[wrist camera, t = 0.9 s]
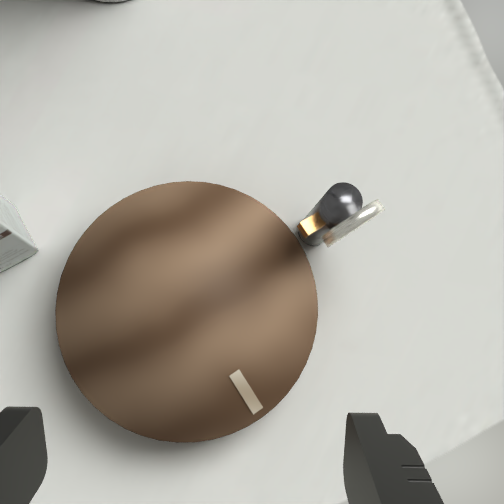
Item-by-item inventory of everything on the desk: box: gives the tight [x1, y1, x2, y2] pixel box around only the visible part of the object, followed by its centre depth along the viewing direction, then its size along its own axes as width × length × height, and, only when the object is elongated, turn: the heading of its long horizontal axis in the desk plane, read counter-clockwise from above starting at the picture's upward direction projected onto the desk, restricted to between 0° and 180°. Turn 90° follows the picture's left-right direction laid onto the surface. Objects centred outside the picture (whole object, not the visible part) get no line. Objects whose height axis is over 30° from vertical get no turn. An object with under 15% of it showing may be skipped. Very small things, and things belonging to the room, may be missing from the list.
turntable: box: [55, 181, 318, 442], centre depth 31 cm, size 18×18×2 cm
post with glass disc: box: [297, 183, 385, 247], centre depth 31 cm, size 5×3×9 cm, turn 123°
